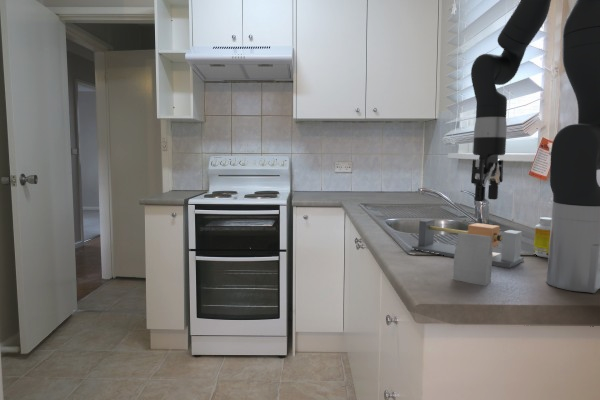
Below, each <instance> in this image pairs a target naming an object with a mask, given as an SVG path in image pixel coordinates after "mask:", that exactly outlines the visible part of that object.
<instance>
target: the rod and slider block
mask: <svg viewBox="0 0 600 400" xmlns="http://www.w3.org/2000/svg"><path fill="white" fill-rule="evenodd" d="M435 223H436V222H435V219H432V218H431V219H430V218H426V219H422V220H419V223H418V224H419V225H418V226H419V227H418V241H417V242H418V244H415V245H412V246H411V249H412V248H414V249H418V250H423V251H429V252H434V253H439V254H442V255H441V256H443V255H444V257H448V258H453V259H454V255H455V248H456V245H455V244H454V245H453V244H448V243H441V242H436V241H434V240H435V239H434V235H435V234H434V233H435V231H437V232H444V233H451V234H456V235H458V233H466V234H468V230H463V229H462V230H460V229H452V228H447V227H440V226H435ZM522 236H523V231H521V230H512V229H508V230H504V231H503V232H502V234H499V235H498V236H497V235H494V239H497V241H499V242H502V244H501V252H493V251H492V254H493V255H492V266H496V267H502V268H506V269H510V268H512V267H515V266H517V265H519V264H520V263H522V262H524V259H525V256H524V257H523V256H521V252H522V251H521V250H522V238H523V237H522Z"/></svg>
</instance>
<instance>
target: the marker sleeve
mask: <svg viewBox="0 0 600 400" xmlns="http://www.w3.org/2000/svg"><path fill="white" fill-rule="evenodd" d="M500 227H501V226H500V225H494V224H488V223H487V224H486V223H479V222H476V223H472V224H468V226H467V231H468V234H474V235H482V236H490V237H492V249H494V248H496V247H499V245H500V244H499V242H500V241H497V239H494V235H497V236H498V235H500V231H501V229H500Z"/></svg>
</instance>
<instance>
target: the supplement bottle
mask: <svg viewBox="0 0 600 400" xmlns="http://www.w3.org/2000/svg"><path fill="white" fill-rule="evenodd" d="M551 219H552V217H544V216H543V217H539V221H538V224H536V225H535V228H534V229H535V230H534V240H533V252H532V253H533V254H536V255H537V256H536V255H535V256H536V257H540V258H545V259H546V258H547V259H548V255H549V243H550V231H551Z"/></svg>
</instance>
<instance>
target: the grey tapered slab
mask: <svg viewBox="0 0 600 400" xmlns="http://www.w3.org/2000/svg"><path fill="white" fill-rule="evenodd" d="M455 246H456V248H455V255H454V258H453V271H452V272H453V273H452V275H453V276H452V280H454V281H458V282H463V283H469V284H474V285H480V286H484V287H486V286H488V285H489V284H490V283H491V280H492V268H493V267H492V266H493V265H492V255H493V254H492V252H493V248H492V237H490V236H482V235H474V234H466V233H458V234H457V238H456V245H455Z"/></svg>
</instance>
